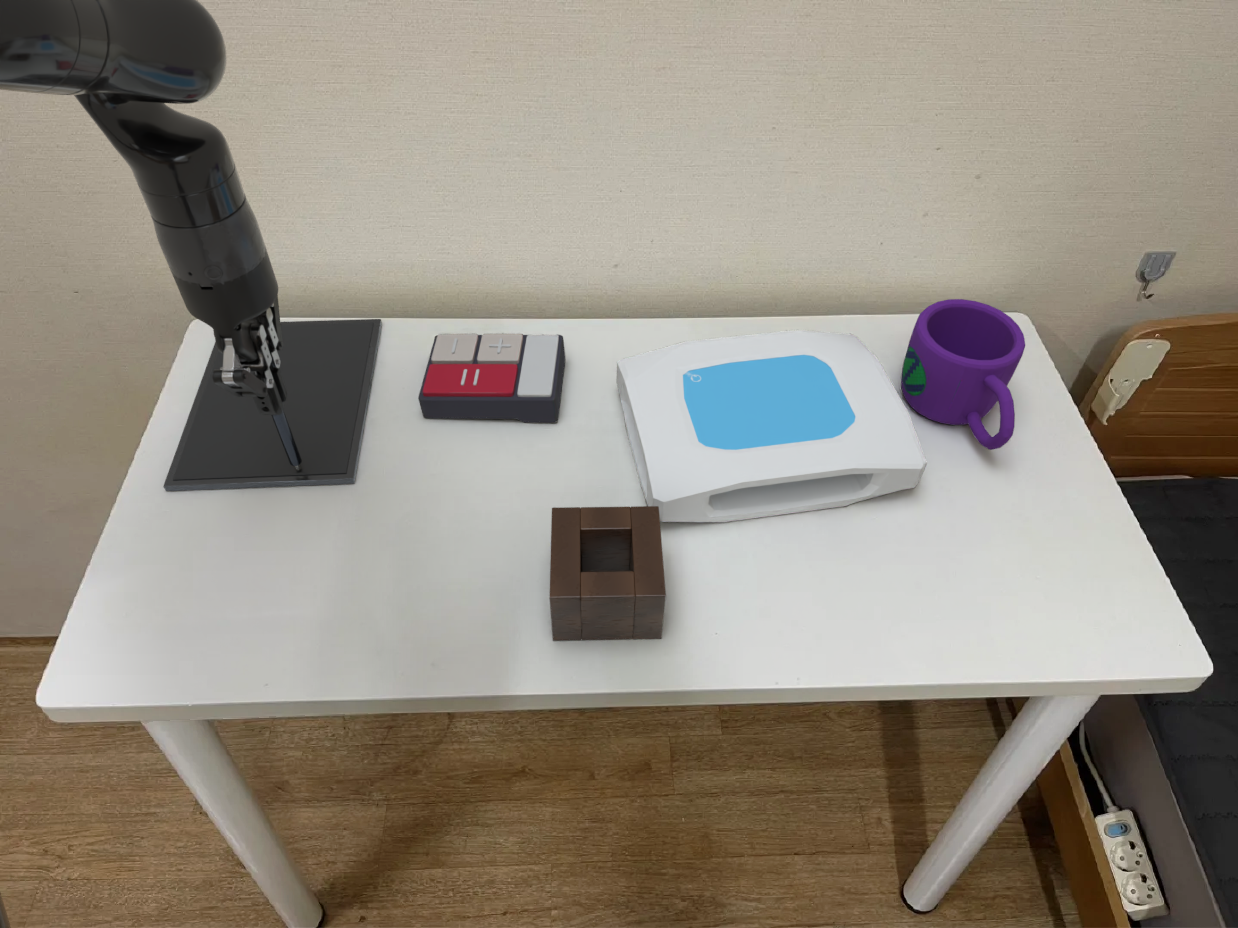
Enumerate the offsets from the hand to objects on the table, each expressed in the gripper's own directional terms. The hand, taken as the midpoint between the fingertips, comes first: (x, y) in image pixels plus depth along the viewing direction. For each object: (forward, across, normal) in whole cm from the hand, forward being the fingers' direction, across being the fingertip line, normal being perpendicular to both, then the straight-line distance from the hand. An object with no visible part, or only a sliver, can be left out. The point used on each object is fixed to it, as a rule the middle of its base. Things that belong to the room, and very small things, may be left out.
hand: (274, 405), depth 85 cm
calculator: (+10, -13, +20) cm, 26 cm away
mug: (+10, -8, +71) cm, 73 cm away
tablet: (+10, -11, -4) cm, 16 cm away
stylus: (+9, 0, 0) cm, 9 cm away
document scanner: (+10, -4, +48) cm, 50 cm away
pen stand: (+10, +15, +31) cm, 36 cm away
